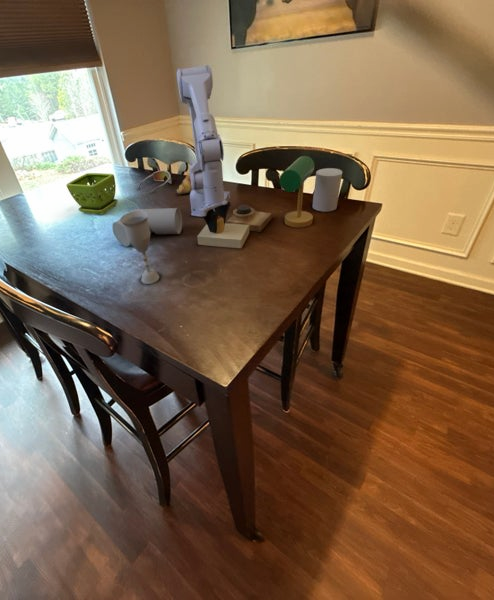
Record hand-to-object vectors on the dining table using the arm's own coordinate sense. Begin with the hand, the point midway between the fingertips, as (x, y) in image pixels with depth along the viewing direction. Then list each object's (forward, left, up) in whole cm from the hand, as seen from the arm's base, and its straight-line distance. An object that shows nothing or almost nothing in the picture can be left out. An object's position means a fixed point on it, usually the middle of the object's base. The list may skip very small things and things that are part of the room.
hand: (217, 228), depth 98 cm
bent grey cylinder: (-22, -6, -4) cm, 23 cm away
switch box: (+5, +13, -3) cm, 15 cm away
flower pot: (-60, +6, -4) cm, 60 cm away
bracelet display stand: (+20, +19, -3) cm, 28 cm away
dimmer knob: (0, 0, 0) cm, 0 cm away
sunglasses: (-53, +36, -4) cm, 64 cm away
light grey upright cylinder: (+25, +33, -4) cm, 42 cm away
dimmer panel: (+2, 0, -3) cm, 4 cm away
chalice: (-7, -27, -4) cm, 28 cm away
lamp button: (+3, +13, 0) cm, 14 cm away
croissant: (-33, +38, -4) cm, 51 cm away
